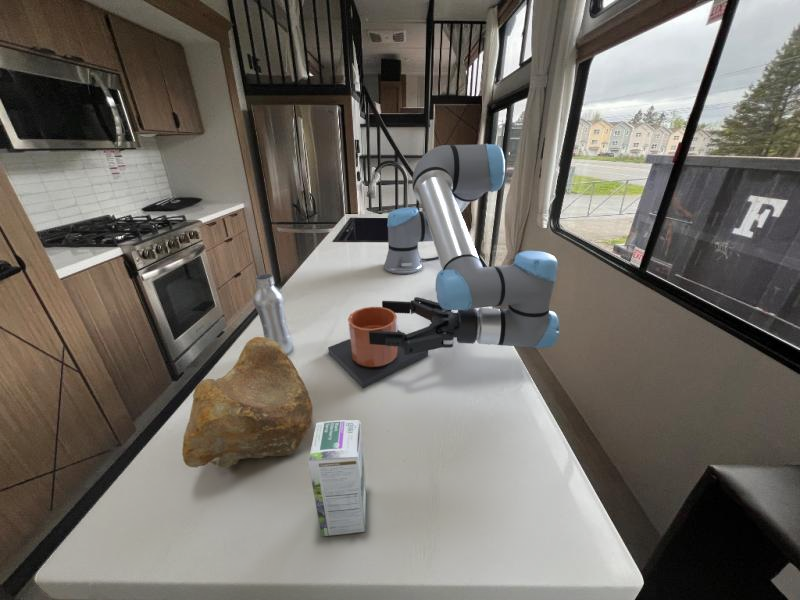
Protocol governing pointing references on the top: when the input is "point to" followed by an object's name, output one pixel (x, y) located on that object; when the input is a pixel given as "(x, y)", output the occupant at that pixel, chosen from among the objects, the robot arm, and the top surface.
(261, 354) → the rough brown rock
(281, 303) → the silver water bottle
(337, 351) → the scale
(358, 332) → the terracotta pot
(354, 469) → the syrup box
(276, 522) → the top surface
